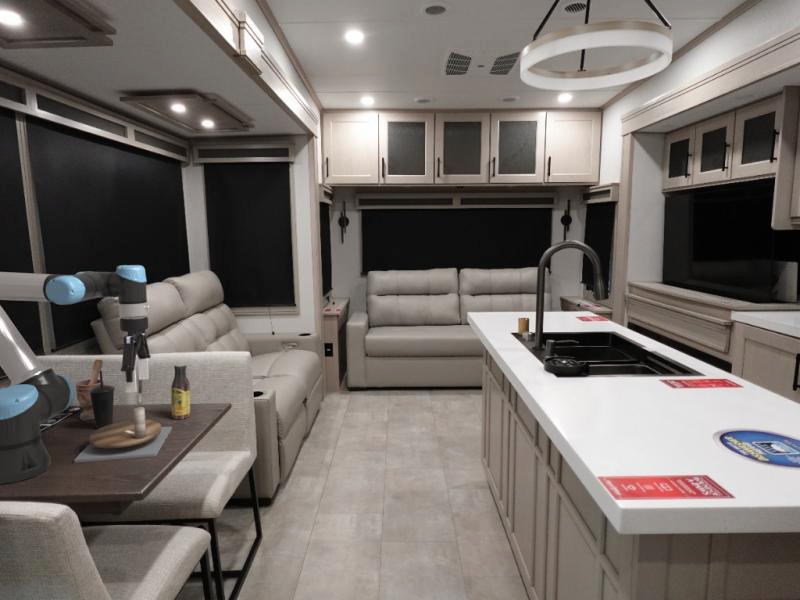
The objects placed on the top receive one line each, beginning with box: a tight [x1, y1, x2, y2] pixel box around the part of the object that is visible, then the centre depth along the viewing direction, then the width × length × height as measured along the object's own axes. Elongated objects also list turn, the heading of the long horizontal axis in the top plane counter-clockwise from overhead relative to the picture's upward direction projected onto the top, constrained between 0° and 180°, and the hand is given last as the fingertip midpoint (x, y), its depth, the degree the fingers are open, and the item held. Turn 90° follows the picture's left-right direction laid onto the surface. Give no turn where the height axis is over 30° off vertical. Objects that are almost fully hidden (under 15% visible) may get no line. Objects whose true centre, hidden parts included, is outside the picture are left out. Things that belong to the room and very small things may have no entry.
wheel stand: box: [73, 426, 173, 464], centre depth 159 cm, size 22×22×1 cm
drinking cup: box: [89, 370, 116, 430], centre depth 172 cm, size 8×8×20 cm
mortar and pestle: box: [75, 359, 105, 422], centre depth 182 cm, size 12×9×20 cm
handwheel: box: [89, 406, 162, 448], centre depth 158 cm, size 20×20×12 cm
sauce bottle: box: [170, 362, 191, 420], centre depth 182 cm, size 6×6×20 cm
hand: (137, 385), depth 152 cm, fingers open, 13 cm apart
